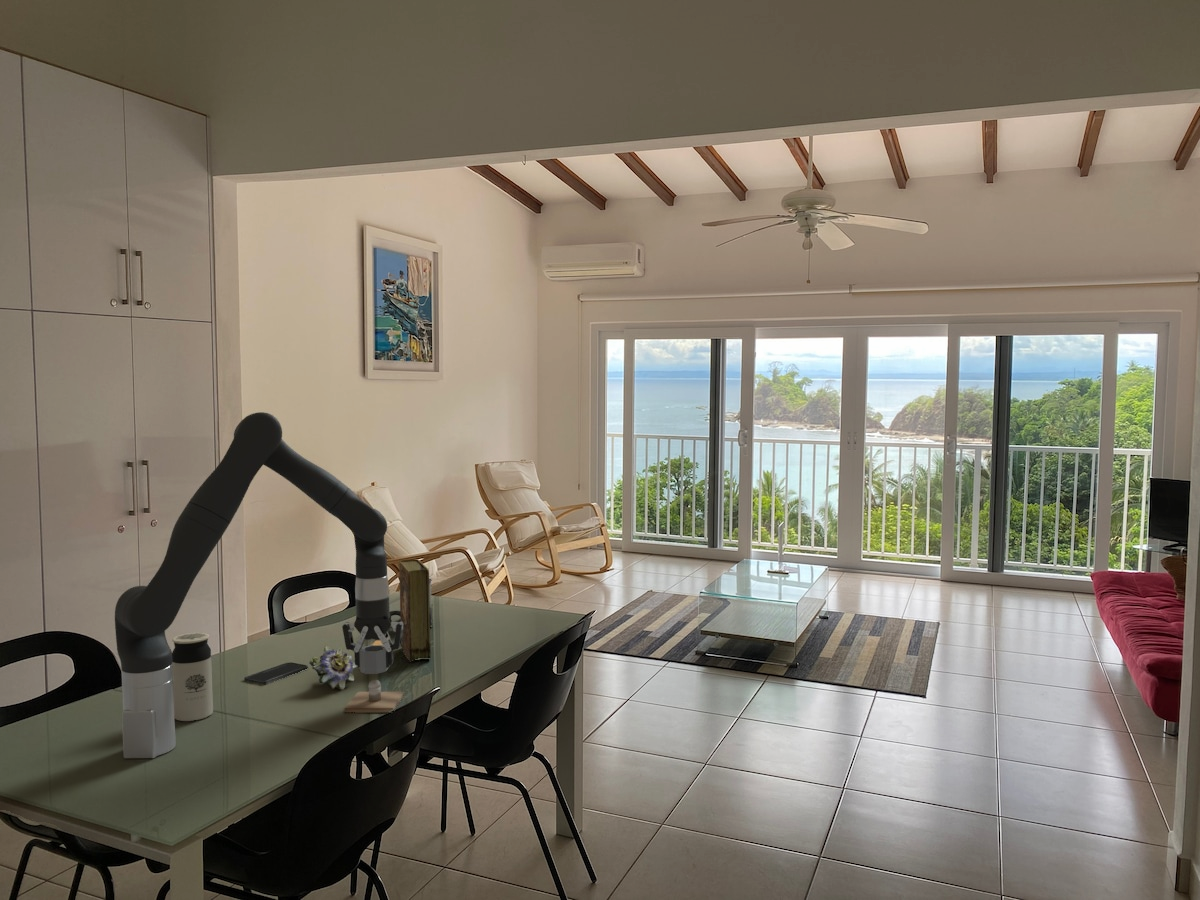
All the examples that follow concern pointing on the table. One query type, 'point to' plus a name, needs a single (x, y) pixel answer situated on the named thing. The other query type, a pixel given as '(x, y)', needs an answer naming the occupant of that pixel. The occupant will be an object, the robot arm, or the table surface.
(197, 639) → the travel mug
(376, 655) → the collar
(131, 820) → the table surface
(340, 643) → the table surface
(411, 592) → the book
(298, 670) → the phone
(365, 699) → the base
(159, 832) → the table surface
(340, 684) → the passion flower
